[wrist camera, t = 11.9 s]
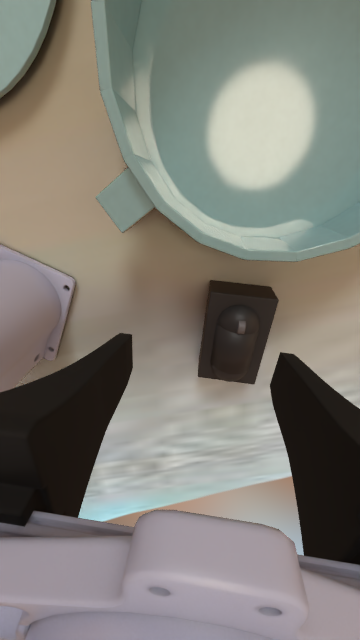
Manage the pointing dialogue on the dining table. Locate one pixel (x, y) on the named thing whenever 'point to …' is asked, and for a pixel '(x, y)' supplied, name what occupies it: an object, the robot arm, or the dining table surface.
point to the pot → (236, 120)
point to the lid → (21, 37)
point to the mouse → (235, 331)
